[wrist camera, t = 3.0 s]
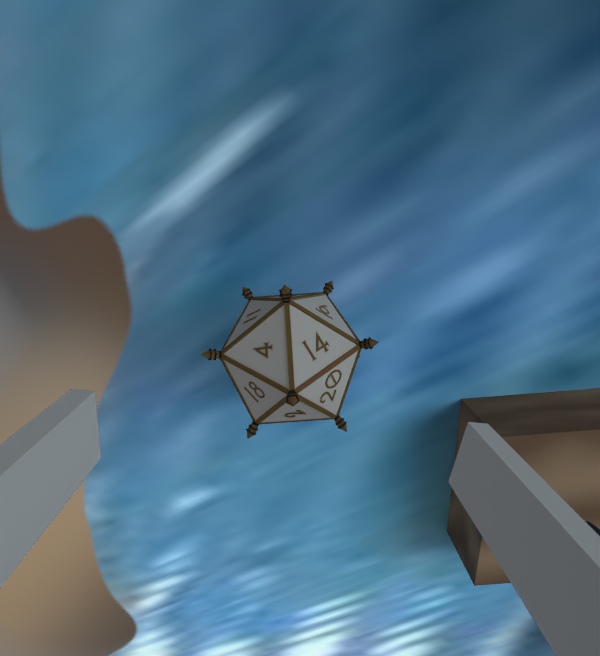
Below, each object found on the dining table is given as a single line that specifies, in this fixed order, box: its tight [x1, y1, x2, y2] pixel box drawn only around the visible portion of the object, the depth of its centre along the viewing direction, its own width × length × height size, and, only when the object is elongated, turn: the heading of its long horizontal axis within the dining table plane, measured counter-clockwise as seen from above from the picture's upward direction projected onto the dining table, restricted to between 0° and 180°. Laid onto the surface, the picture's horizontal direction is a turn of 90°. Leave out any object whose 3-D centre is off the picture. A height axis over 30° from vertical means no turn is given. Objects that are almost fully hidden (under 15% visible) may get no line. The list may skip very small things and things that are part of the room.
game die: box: [201, 281, 378, 438], centre depth 18 cm, size 9×8×10 cm
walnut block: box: [447, 388, 600, 586], centre depth 25 cm, size 14×14×5 cm
